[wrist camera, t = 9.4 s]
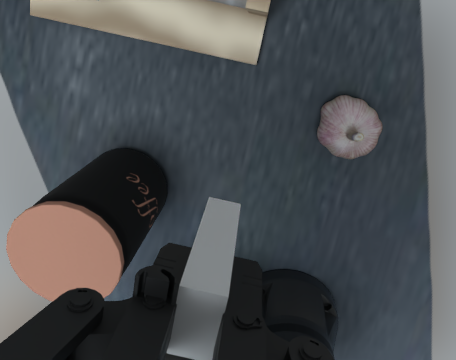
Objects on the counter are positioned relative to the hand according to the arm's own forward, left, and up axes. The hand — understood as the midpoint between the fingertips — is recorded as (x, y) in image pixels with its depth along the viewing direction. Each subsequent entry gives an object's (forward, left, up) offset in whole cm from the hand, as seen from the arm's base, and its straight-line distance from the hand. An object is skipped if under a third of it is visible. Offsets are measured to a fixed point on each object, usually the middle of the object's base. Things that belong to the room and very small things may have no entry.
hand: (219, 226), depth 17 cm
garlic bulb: (+1, -12, -30) cm, 32 cm away
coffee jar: (-13, +13, -30) cm, 35 cm away
